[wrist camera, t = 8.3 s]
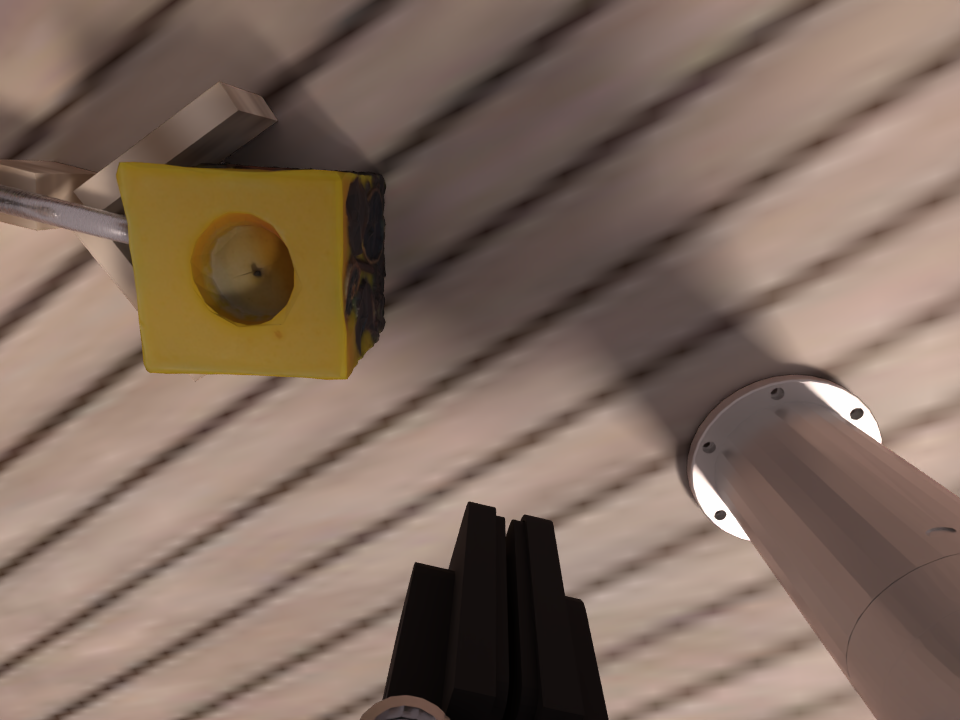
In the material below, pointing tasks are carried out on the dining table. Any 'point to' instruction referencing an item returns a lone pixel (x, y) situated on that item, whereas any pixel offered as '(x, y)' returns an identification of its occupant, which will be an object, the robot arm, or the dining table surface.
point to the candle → (255, 267)
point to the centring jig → (179, 141)
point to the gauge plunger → (63, 214)
